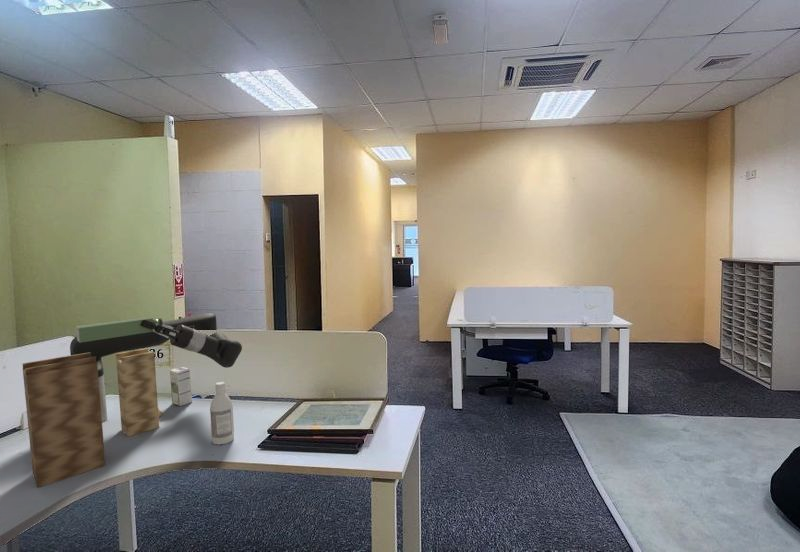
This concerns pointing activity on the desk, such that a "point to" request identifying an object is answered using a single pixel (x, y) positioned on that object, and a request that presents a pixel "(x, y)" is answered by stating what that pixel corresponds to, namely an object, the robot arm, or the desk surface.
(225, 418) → the bath foam
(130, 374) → the block
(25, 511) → the desk surface
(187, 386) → the syrup box
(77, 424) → the brown patterned box
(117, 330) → the sage green plank
